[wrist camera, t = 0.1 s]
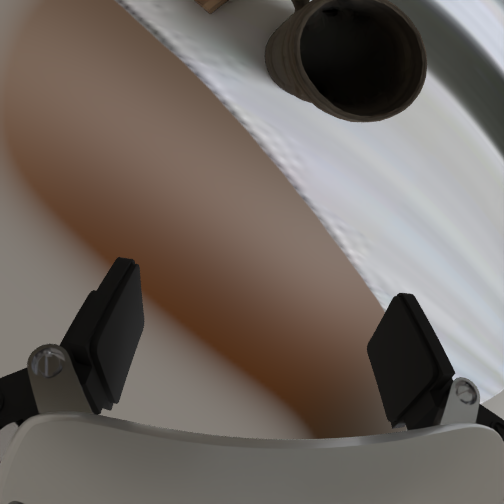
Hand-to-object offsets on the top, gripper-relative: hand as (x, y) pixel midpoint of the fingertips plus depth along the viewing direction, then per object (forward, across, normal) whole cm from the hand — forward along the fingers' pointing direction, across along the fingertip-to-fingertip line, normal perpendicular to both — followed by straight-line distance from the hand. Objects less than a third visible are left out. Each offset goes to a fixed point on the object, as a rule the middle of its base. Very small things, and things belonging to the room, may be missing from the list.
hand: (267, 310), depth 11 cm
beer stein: (+31, -4, -13) cm, 34 cm away
